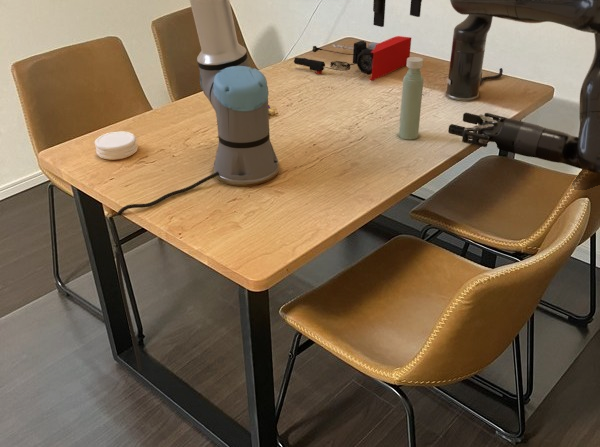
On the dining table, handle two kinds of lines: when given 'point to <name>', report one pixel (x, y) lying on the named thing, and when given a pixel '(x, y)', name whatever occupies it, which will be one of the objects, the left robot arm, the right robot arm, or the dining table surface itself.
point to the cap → (414, 62)
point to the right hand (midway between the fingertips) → (456, 122)
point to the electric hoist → (368, 57)
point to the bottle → (411, 104)
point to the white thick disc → (116, 145)
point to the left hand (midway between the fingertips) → (397, 20)
